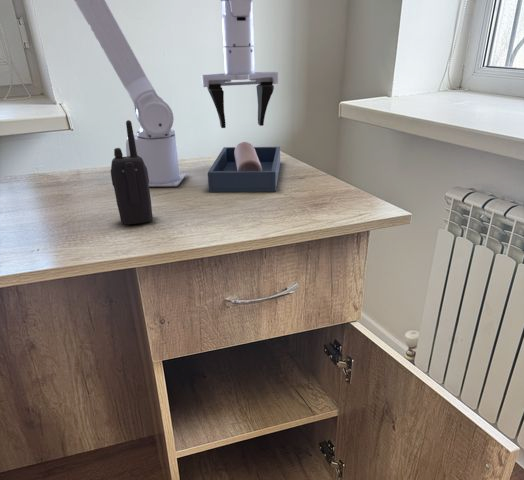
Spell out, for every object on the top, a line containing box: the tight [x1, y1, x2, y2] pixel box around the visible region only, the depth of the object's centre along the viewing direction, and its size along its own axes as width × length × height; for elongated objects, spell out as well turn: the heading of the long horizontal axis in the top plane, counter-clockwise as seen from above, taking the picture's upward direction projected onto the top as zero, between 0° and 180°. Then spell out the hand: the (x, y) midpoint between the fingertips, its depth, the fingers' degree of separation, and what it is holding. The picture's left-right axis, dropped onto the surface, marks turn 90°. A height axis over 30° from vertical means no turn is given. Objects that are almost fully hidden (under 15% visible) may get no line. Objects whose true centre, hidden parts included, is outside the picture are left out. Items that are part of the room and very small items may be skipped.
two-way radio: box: [110, 119, 153, 226], centre depth 76 cm, size 6×4×15 cm
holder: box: [207, 146, 281, 193], centre depth 102 cm, size 13×23×4 cm, turn 176°
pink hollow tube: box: [234, 141, 262, 171], centre depth 101 cm, size 5×5×18 cm
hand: (242, 126), depth 99 cm, fingers open, 7 cm apart
